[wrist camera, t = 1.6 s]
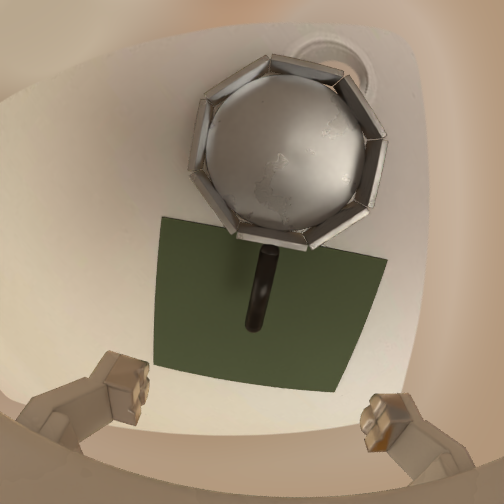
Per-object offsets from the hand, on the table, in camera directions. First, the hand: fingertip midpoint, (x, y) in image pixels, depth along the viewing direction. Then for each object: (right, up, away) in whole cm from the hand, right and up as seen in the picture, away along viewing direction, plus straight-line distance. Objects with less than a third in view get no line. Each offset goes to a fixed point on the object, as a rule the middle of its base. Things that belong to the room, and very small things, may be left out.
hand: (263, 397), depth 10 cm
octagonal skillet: (+2, +9, +14) cm, 17 cm away
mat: (0, -1, +18) cm, 18 cm away
